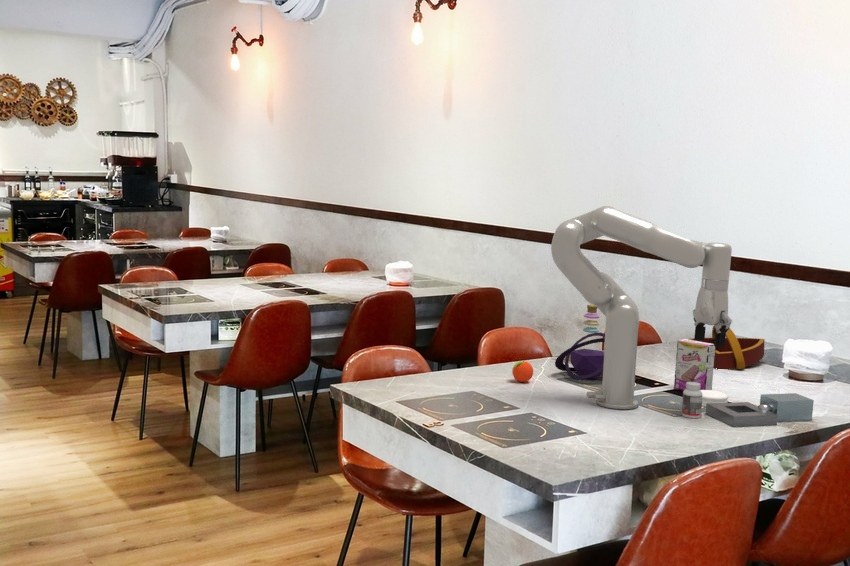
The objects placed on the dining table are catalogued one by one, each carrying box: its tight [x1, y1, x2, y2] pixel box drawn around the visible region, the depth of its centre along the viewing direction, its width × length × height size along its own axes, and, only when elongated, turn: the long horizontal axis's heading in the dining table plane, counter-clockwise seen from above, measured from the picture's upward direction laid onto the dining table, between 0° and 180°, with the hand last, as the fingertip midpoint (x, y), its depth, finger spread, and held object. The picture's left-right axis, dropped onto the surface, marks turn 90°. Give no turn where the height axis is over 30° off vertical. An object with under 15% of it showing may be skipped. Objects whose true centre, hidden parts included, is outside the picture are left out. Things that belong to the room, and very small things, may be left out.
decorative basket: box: [687, 325, 766, 370], centre depth 338 cm, size 34×29×15 cm
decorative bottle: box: [554, 303, 605, 380], centre depth 302 cm, size 22×21×25 cm
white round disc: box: [699, 389, 729, 408], centre depth 273 cm, size 10×10×4 cm
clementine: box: [511, 360, 534, 383], centre depth 293 cm, size 8×7×7 cm
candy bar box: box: [673, 338, 715, 392], centre depth 287 cm, size 11×5×16 cm, turn 47°
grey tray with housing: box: [705, 392, 815, 428], centre depth 258 cm, size 28×14×6 cm, turn 105°
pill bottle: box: [681, 382, 703, 419], centre depth 257 cm, size 5×5×10 cm
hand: (709, 343), depth 261 cm, fingers open, 9 cm apart
